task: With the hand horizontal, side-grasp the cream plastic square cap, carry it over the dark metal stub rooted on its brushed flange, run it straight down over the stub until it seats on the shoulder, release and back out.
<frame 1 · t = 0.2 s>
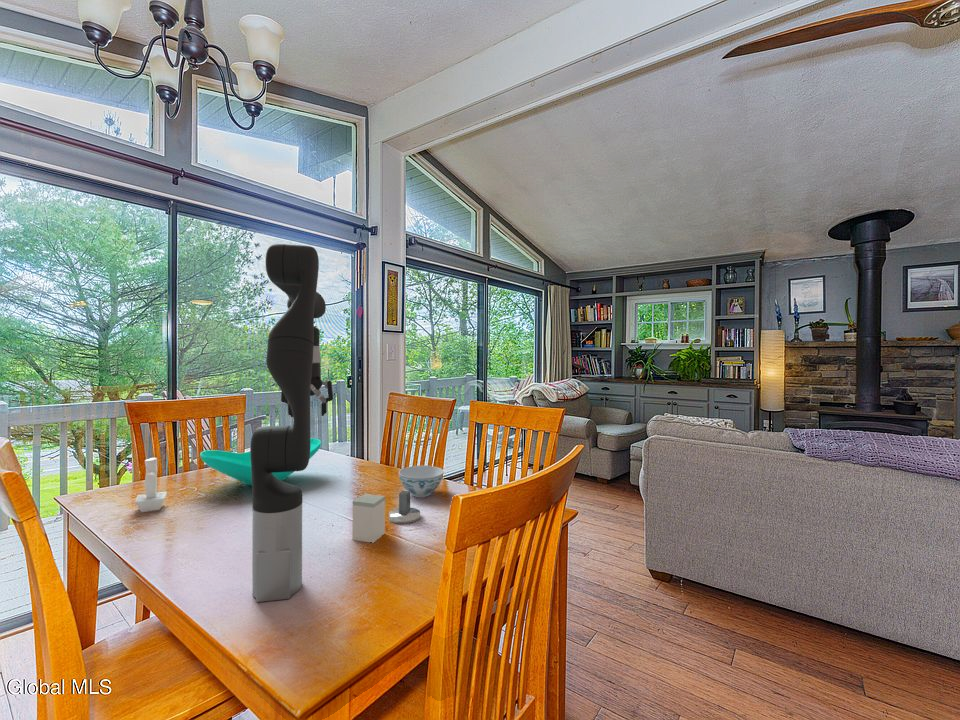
hand: (307, 416, 134), 28 cm above the table, tool pointing down, fingers open, 8 cm apart
chinaware: (421, 494, 152), on the table
table top decor: (264, 484, 160), on the table
stub: (404, 517, 130), on the table
figurine: (151, 509, 134), on the table
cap: (368, 536, 117), on the table
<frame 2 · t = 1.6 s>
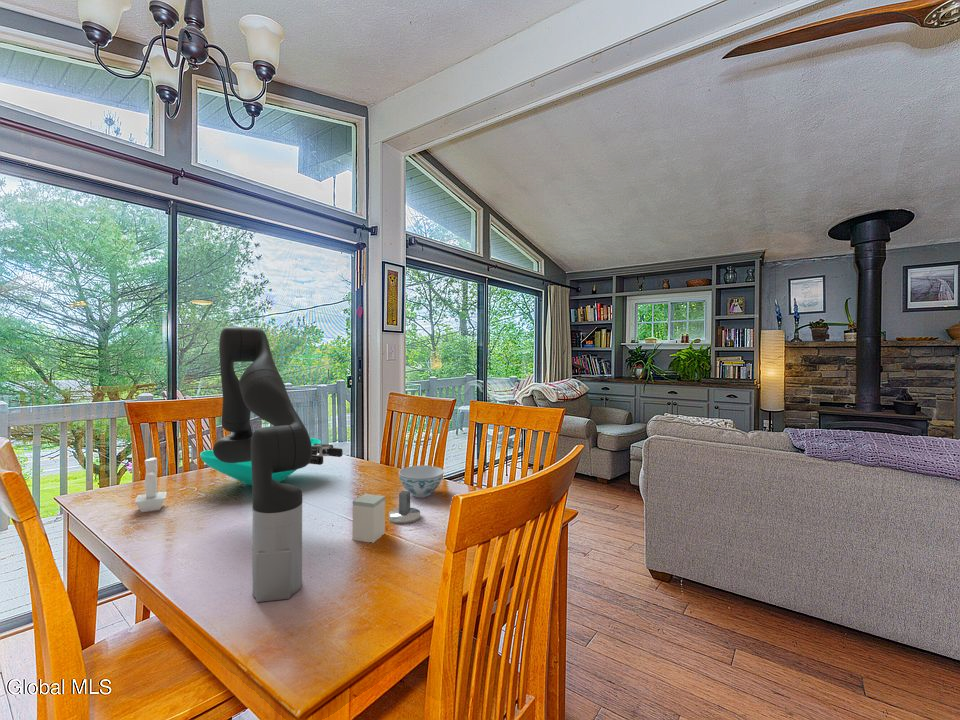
hand: (332, 456, 120), 20 cm above the table, tool horizontal, fingers open, 8 cm apart
nothing on the table moved.
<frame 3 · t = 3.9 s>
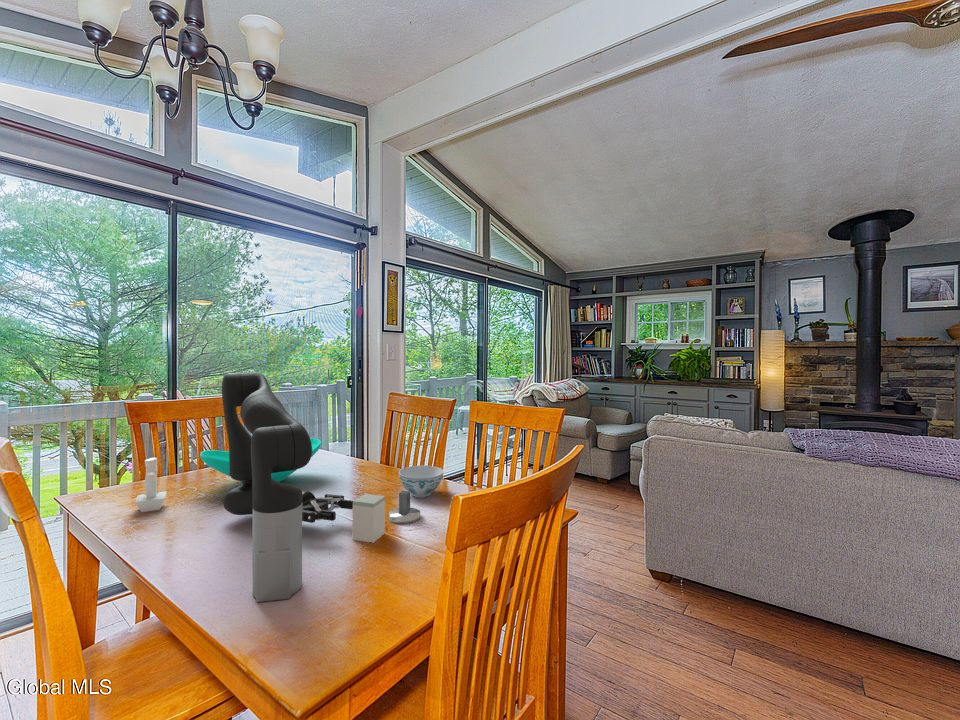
hand: (344, 510, 119), 6 cm above the table, tool horizontal, fingers open, 8 cm apart
nothing on the table moved.
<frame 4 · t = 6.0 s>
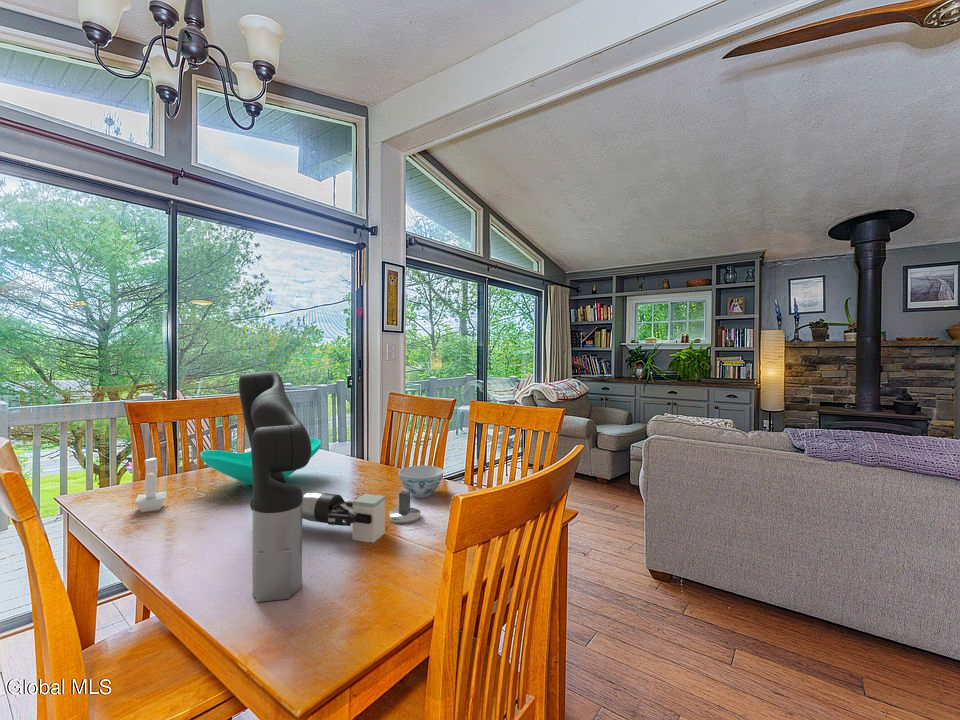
hand: (377, 514, 117), 6 cm above the table, tool horizontal, fingers closed on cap, 6 cm apart
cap: (368, 536, 117), on the table, touching gripper
everything else where it was.
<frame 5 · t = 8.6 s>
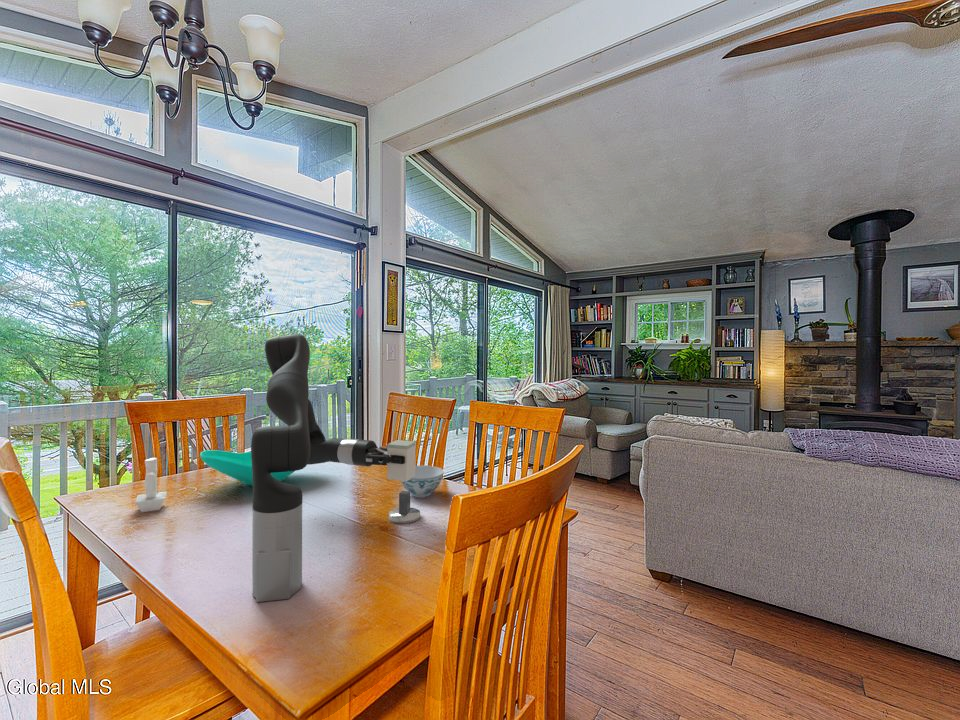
hand: (409, 457, 129), 18 cm above the table, tool horizontal, fingers closed on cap, 6 cm apart
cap: (401, 477, 130), point 12 cm above the table, touching gripper
everything else where it was.
when the fingers open (9 cm above the table, at t = 11.5 s): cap drops 1 cm, resting on stub.
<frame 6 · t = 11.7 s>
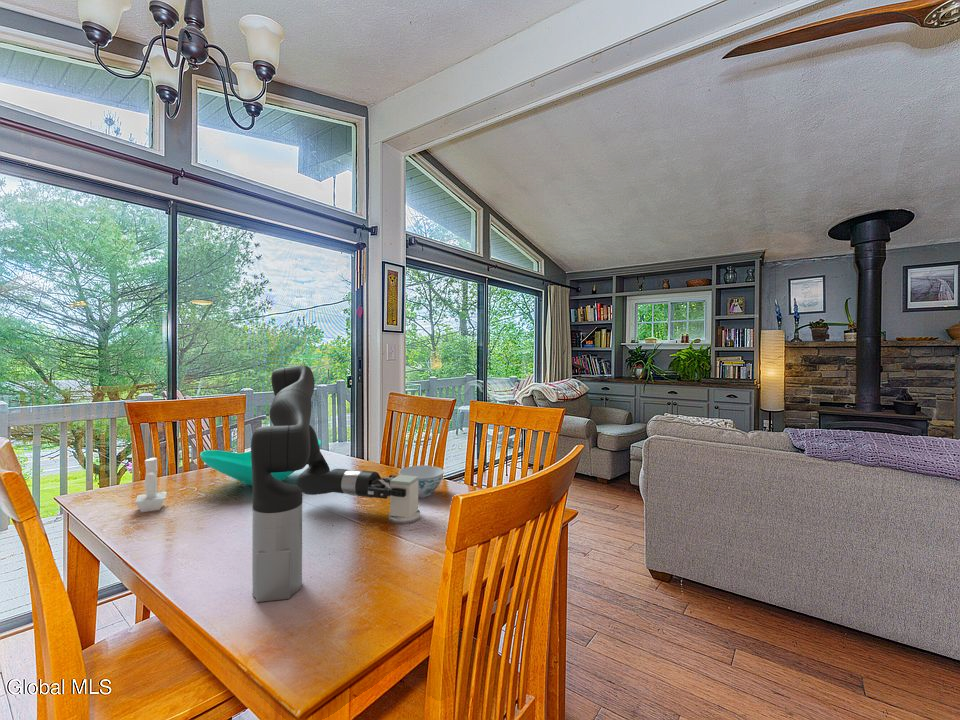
hand: (411, 488, 130), 9 cm above the table, tool horizontal, fingers open, 7 cm apart
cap: (404, 512, 130), point 2 cm above the table, touching stub
everything else where it was.
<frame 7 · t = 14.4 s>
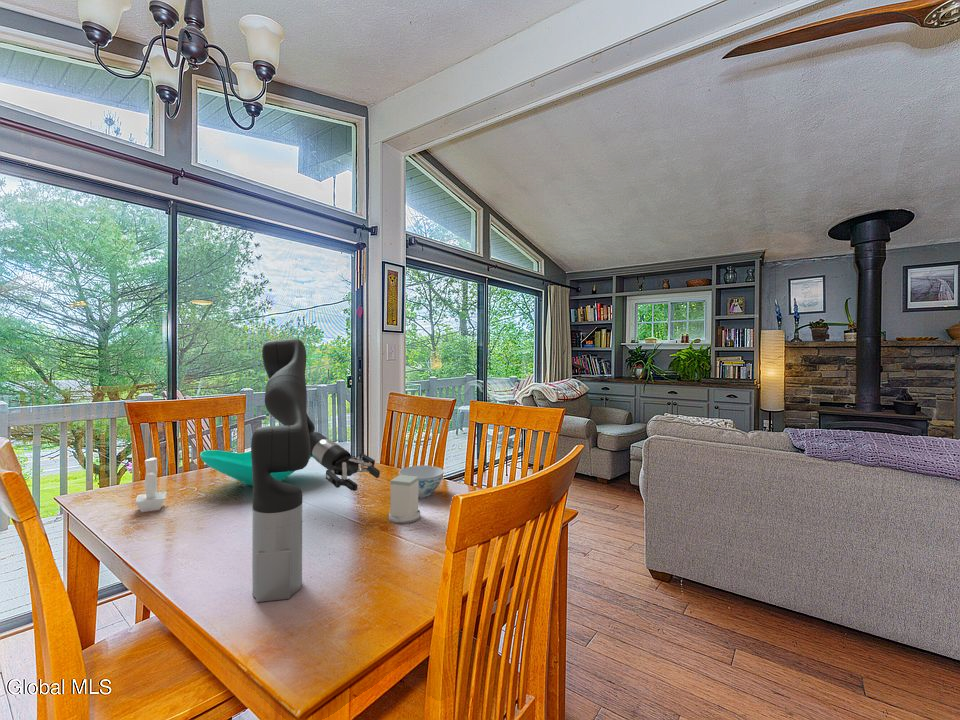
hand: (367, 481, 130), 10 cm above the table, tool tilted 70°, fingers open, 8 cm apart
nothing on the table moved.
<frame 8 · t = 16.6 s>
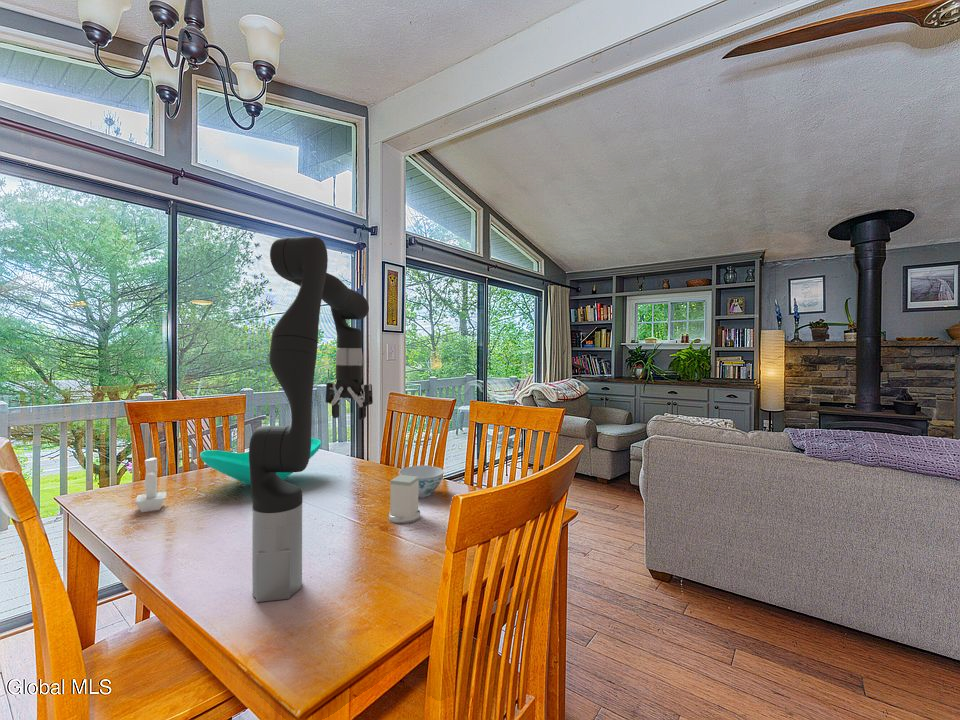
hand: (348, 418, 133), 28 cm above the table, tool pointing down, fingers open, 8 cm apart
nothing on the table moved.
at the end: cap 0.1 cm off-centre on the stub, point 1.5 cm above the stub's base; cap tilted 0°; the gripper is holding nothing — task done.
